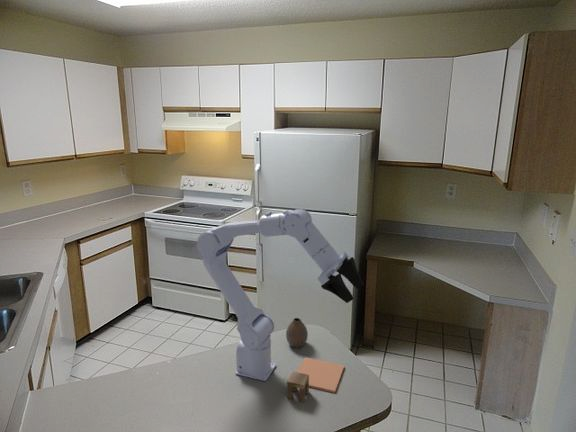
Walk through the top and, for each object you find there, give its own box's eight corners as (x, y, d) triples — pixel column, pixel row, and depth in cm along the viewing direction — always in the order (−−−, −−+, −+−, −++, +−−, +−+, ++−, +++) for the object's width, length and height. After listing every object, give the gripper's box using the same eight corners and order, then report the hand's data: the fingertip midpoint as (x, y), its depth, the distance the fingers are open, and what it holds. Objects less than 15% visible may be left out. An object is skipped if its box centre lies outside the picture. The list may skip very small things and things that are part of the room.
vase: (306, 338, 132) (306, 314, 130) (308, 350, 125) (308, 324, 123) (285, 338, 132) (285, 314, 130) (286, 350, 125) (286, 325, 123)
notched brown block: (287, 398, 104) (287, 381, 102) (292, 387, 108) (292, 371, 107) (303, 402, 102) (303, 385, 101) (308, 391, 106) (308, 374, 105)
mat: (292, 383, 110) (292, 381, 109) (305, 359, 121) (305, 357, 120) (334, 392, 106) (335, 390, 106) (344, 367, 117) (344, 365, 117)
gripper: (319, 253, 91) (357, 300, 90) (342, 232, 103) (376, 273, 102) (299, 268, 95) (336, 313, 94) (323, 246, 107) (356, 286, 106)
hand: (355, 293), depth 98 cm, fingers open, 7 cm apart
